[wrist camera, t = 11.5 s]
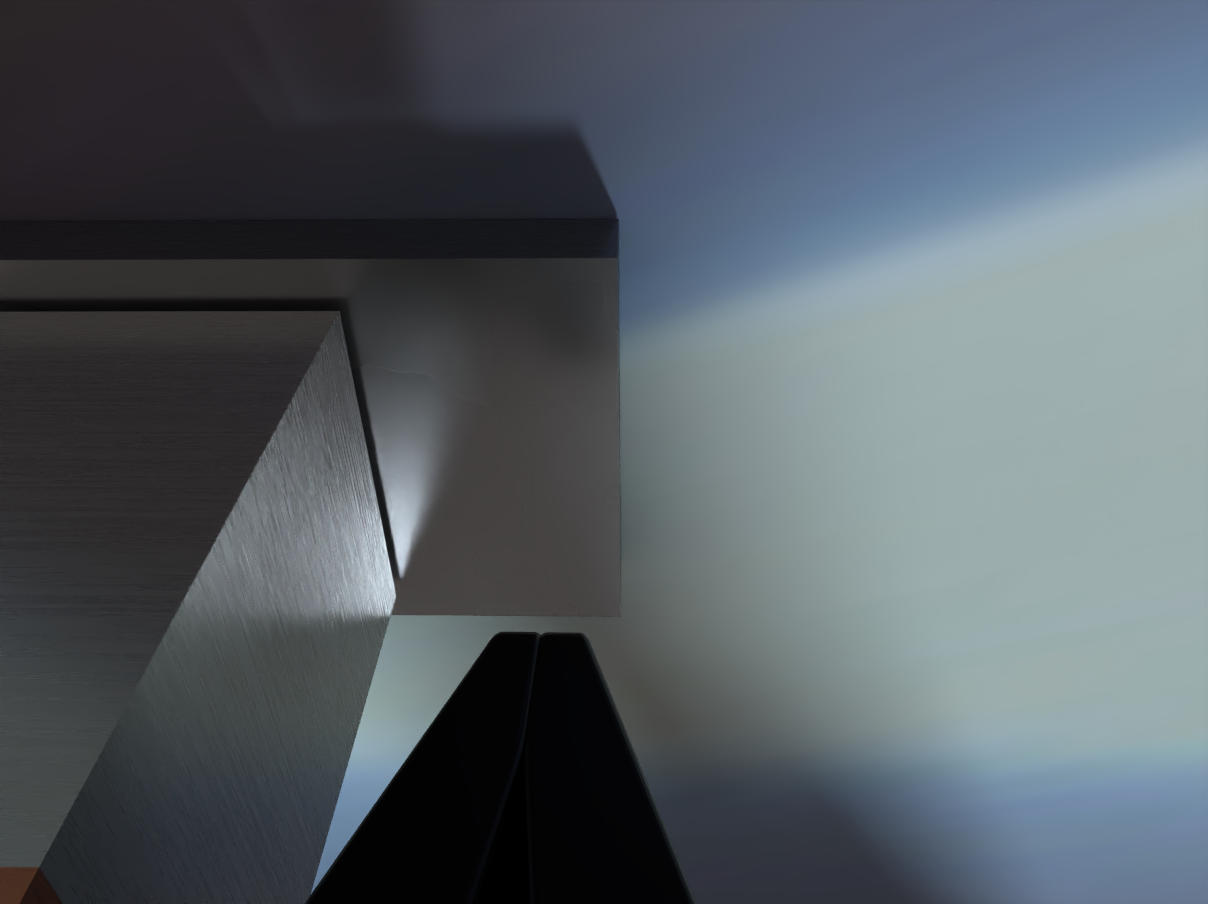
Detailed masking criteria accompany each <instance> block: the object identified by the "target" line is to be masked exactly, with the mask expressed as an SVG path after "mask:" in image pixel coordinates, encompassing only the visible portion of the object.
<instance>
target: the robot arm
mask: <svg viewBox="0 0 1208 904" xmlns="http://www.w3.org/2000/svg"><path fill="white" fill-rule="evenodd" d="M305 904H696V902H695V899H694V897H693V894H692V892H691V890H690V887H689V885H688V882H687V880H686V877H685V875H684V872H683V870H682V867H681V865H680V862H679V860H678V858H677V855H676V853H675V850H674V848H673V845H672V843H671V840H670V838H669V835H668V833H667V830H666V828H665V826H664V823H663V821H662V818H661V816H660V813H659V811H658V808H657V806H656V803H655V801H654V799H653V796H652V794H651V791H650V789H649V786H648V784H647V781H646V779H645V776H644V774H643V771H642V769H641V767H640V764H639V762H638V759H637V757H636V754H635V752H634V749H633V747H632V744H631V742H630V739H629V737H628V735H627V732H626V730H625V727H624V725H623V722H622V720H621V717H620V715H619V712H618V710H617V708H616V705H615V703H614V700H613V698H612V695H611V693H610V690H609V688H608V685H607V683H606V680H605V678H604V676H603V673H602V671H601V668H600V666H599V663H598V661H597V658H596V656H595V653H594V651H593V648H592V646H591V644H590V641H589V639H588V638H587V637H586V636H585V635H584V634H582V633H558V632H547V633H544V634H542V635H540V634H539V633H536V632H500V633H498V634H496V635H495V636H494V637H493V638H492V639H491V640H490V641H489V643H488V644H487V646H486V647H485V648H484V650H483V651H482V653H481V654H480V656H479V657H478V658H477V660H476V661H475V663H474V664H473V665H472V667H471V668H470V670H469V671H468V673H467V674H466V675H465V677H464V678H463V680H462V681H461V682H460V684H459V685H458V687H457V688H456V690H455V691H454V692H453V694H452V695H451V697H450V698H449V699H448V701H447V702H446V704H445V705H444V707H443V708H442V709H441V711H440V712H439V714H438V715H437V716H436V718H435V719H434V721H433V722H432V724H431V725H430V726H429V728H428V729H427V731H426V732H425V734H424V735H423V736H422V738H421V739H420V741H419V742H418V743H417V745H416V746H415V748H414V749H413V751H412V752H411V753H410V755H409V756H408V758H407V759H406V760H405V762H404V763H403V765H402V766H401V768H400V769H399V770H398V772H397V773H396V775H395V776H394V777H393V779H392V780H391V782H390V783H389V785H388V786H387V787H386V789H385V790H384V792H383V793H382V794H381V796H380V797H379V799H378V800H377V802H376V803H375V804H374V806H373V807H372V809H371V810H370V811H369V813H368V814H367V816H366V817H365V819H364V820H363V821H362V823H361V824H360V826H359V827H358V828H357V830H356V831H355V833H354V834H353V836H352V837H351V838H350V840H349V841H348V843H347V844H346V845H345V847H344V848H343V850H342V851H341V853H340V854H339V855H338V857H337V858H336V860H335V861H334V862H333V864H332V865H331V867H330V868H329V870H328V871H327V872H326V874H325V875H324V877H323V878H322V879H321V881H320V882H319V884H318V885H317V887H316V888H315V889H314V891H313V892H312V894H311V895H310V896H309V898H308V899H307V901H306V902H305Z"/></svg>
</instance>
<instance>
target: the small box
mask: <svg viewBox="0 0 1208 904" xmlns="http://www.w3.org/2000/svg"><path fill="white" fill-rule="evenodd" d="M395 598H396V591H395V586H394V581H393V576H392V571H391V566H390V561H389V556H388V551H387V546H386V541H385V536H384V531H383V526H382V521H381V516H380V511H379V506H378V501H377V496H376V491H375V486H374V481H373V476H372V471H371V466H370V461H369V456H368V451H367V446H366V441H365V436H364V431H363V426H362V421H361V416H360V411H359V406H358V401H357V396H356V391H355V386H354V381H353V376H352V371H351V366H350V361H349V356H348V351H347V346H346V341H345V336H344V331H343V326H342V321H341V316H340V311H87V312H0V904H305V902H306V901H307V899H308V898H309V896H310V895H311V891H312V888H313V884H314V881H315V877H316V874H317V870H318V867H319V863H320V860H321V856H322V853H323V849H324V846H325V842H326V839H327V835H328V832H329V828H330V825H331V821H332V818H333V814H334V811H335V808H336V804H337V801H338V797H339V794H340V790H341V787H342V783H343V780H344V776H345V773H346V769H347V766H348V762H349V759H350V755H351V752H352V748H353V745H354V741H355V738H356V734H357V731H358V727H359V724H360V720H361V717H362V713H363V710H364V706H365V703H366V699H367V696H368V692H369V689H370V685H371V682H372V678H373V675H374V672H375V668H376V665H377V661H378V658H379V654H380V651H381V647H382V644H383V640H384V637H385V633H386V630H387V626H388V623H389V619H390V616H391V612H392V609H393V605H394V602H395Z"/></svg>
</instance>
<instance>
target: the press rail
mask: <svg viewBox="0 0 1208 904" xmlns="http://www.w3.org/2000/svg"><path fill="white" fill-rule="evenodd" d="M87 311H340V316H341V321H342V326H343V331H344V336H345V341H346V346H347V351H348V356H349V361H350V366H351V371H352V376H353V381H354V386H355V391H356V396H357V401H358V406H359V411H360V416H361V421H362V426H363V431H364V436H365V441H366V446H367V451H368V456H369V461H370V466H371V471H372V476H373V481H374V486H375V491H376V496H377V501H378V506H379V511H380V516H381V521H382V526H383V531H384V536H385V541H386V546H387V551H388V556H389V561H390V566H391V571H392V576H393V581H394V586H395V591H396V598H395V602H394V605H393V609H392V612H391V615H481V616H609V617H620V590H621V499H620V353H619V219H474V220H266V221H57V222H0V312H87Z"/></svg>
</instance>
